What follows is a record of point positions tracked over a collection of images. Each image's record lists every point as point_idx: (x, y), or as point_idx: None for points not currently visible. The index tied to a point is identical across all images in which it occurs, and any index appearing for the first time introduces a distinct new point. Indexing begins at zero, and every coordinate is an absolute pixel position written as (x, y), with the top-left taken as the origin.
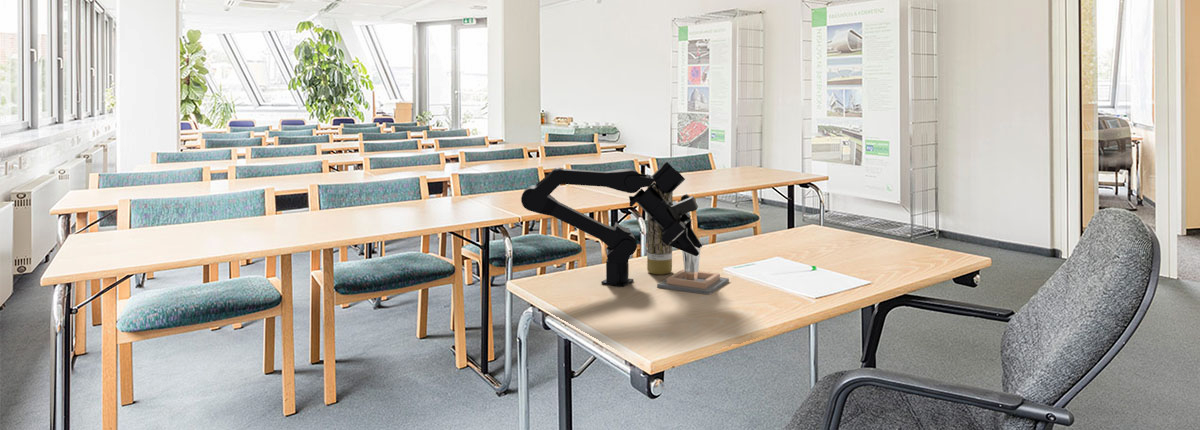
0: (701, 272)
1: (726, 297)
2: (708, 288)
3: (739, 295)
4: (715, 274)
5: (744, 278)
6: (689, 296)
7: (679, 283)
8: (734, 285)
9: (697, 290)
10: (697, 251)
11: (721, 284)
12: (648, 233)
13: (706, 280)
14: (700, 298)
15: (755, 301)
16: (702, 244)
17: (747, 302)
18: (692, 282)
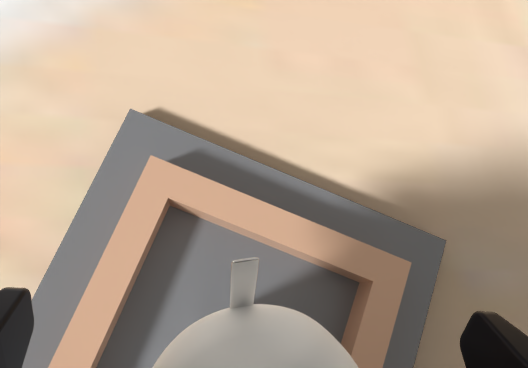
0: (116, 291)
1: (462, 152)
2: (385, 242)
3: (414, 86)
4: (170, 186)
5: (52, 19)
6: None
7: None
8: (223, 92)
9: (426, 310)
10: (523, 334)
11: (253, 162)
12: None
13: (343, 251)
14: (513, 289)
15: (493, 28)
16: (254, 272)
17: (517, 63)
18: (383, 350)
